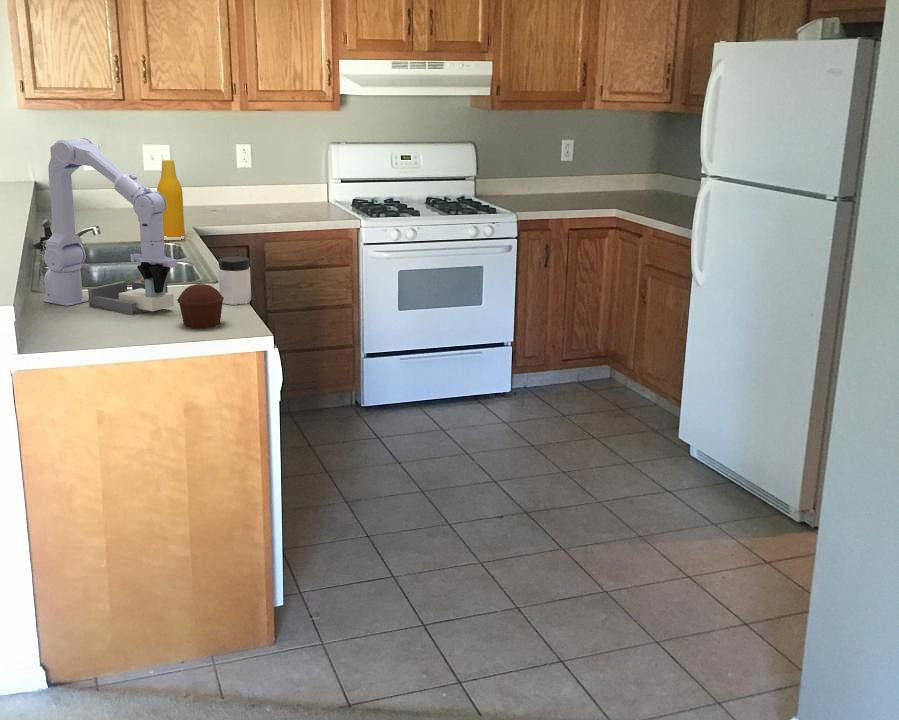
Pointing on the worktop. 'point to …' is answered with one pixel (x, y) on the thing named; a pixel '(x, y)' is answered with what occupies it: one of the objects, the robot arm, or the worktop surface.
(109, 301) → the housing
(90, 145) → the robot arm
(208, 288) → the muffin
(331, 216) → the worktop surface
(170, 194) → the beer bottle
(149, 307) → the white blue stepped block
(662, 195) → the worktop surface
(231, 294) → the jar
